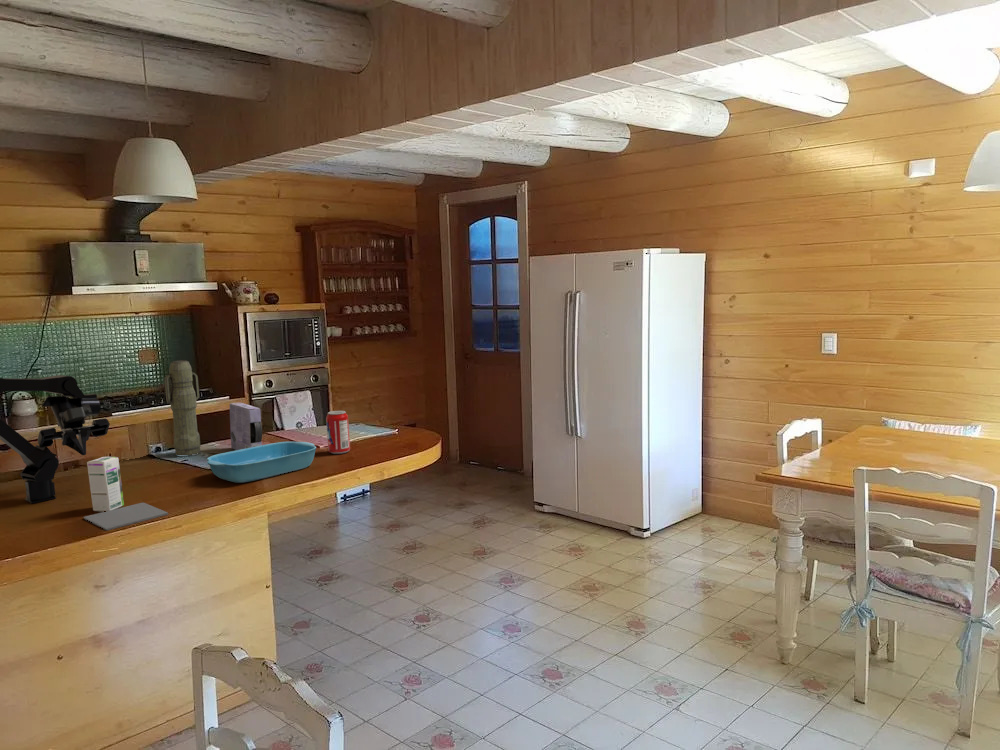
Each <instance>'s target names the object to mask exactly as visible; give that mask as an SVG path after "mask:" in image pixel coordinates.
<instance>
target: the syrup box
mask: <svg viewBox="0 0 1000 750" xmlns="http://www.w3.org/2000/svg"><path fill="white" fill-rule="evenodd" d="M119 461H120V459H119V457H118V456H101V457H99V458H96V459H93V460H89V461H87V462H86V464H87V472H88V473H87V474H88V482H89V490H90V495H91V497H90V498H91V503H92V504H91V505H92V510H93V512H104V511H110V510H114V509H118V508H122V507H125V502H124V492H123V484H122V483H123V482H122V477H121V468H120V462H119Z"/></svg>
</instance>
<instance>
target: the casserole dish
mask: <svg viewBox="0 0 1000 750" xmlns="http://www.w3.org/2000/svg"><path fill="white" fill-rule="evenodd" d="M316 450H317V446H315V444H314V443H312V442H307V441H279V442H274V443H268V444H267V443H266V444H262V445H261V446H256V447H251V448H246V449H241V450H231V451H227V452H222V453H217V454H214V455H211V456H209V457H207V459H206V460H207V461H206V462H207V463H206V464H207V465H209V467H210V470H211V471H212V473H213V475H215V476H216V477H218V478H219V479H221V480H224V481H228V482H231V483H236V484H240V483H241V484H242V483H248V482H249V483H250V482H254V481H258V480H263V479H267V478H271V477H276V476H280V474H281V475H284V473H285V474H287V473H288V472H289V473H292V471H293V472H295V471H300V470H303V469H306V468H308V467H309V466H310V465H311V464H312V462H313V461H314V458H315V453H316Z"/></svg>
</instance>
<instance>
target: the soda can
mask: <svg viewBox="0 0 1000 750" xmlns="http://www.w3.org/2000/svg"><path fill="white" fill-rule="evenodd" d="M325 421H326V437H327V451H328V452H329V453H331V454H332V455H341V454H347V453H348V452H350V450H351V439H350V425H349V423H350V422H349V415H348V414H347V411H345V410H332V411H329V412H327V415H326V417H325Z"/></svg>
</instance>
